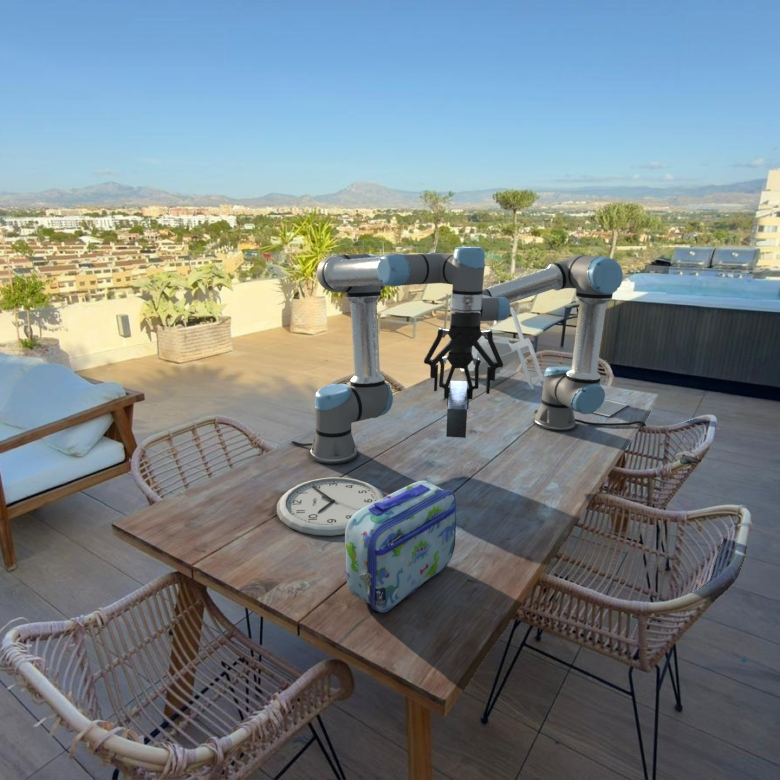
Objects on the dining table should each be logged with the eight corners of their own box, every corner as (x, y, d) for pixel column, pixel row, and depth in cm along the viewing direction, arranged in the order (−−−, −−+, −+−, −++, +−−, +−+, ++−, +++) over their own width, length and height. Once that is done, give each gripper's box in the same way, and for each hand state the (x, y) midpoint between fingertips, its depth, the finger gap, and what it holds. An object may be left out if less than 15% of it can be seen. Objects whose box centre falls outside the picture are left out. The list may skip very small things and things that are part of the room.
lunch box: (374, 626, 100) (375, 530, 93) (338, 598, 107) (337, 508, 101) (459, 568, 117) (465, 484, 111) (424, 547, 124) (427, 467, 118)
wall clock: (392, 527, 129) (268, 531, 127) (391, 533, 130) (269, 537, 127) (383, 473, 158) (282, 475, 155) (383, 478, 158) (282, 480, 156)
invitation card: (608, 416, 214) (573, 407, 224) (608, 416, 214) (573, 408, 224) (628, 404, 229) (594, 396, 238) (628, 405, 229) (594, 397, 238)
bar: (449, 404, 181) (450, 380, 178) (466, 405, 180) (467, 381, 177) (446, 436, 153) (447, 408, 151) (465, 437, 153) (467, 409, 150)
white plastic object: (480, 418, 266) (459, 395, 242) (461, 346, 288) (441, 318, 264) (550, 394, 254) (536, 368, 229) (526, 321, 276) (510, 289, 251)
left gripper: (415, 311, 129) (413, 392, 135) (518, 314, 126) (511, 397, 133) (417, 306, 136) (415, 384, 143) (515, 310, 134) (508, 389, 140)
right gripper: (431, 341, 167) (429, 409, 174) (490, 343, 165) (486, 412, 172) (432, 336, 174) (430, 402, 181) (489, 338, 172) (485, 405, 179)
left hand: (461, 391), depth 138 cm, fingers open, 13 cm apart
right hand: (457, 407), depth 176 cm, fingers closed on bar, 6 cm apart
